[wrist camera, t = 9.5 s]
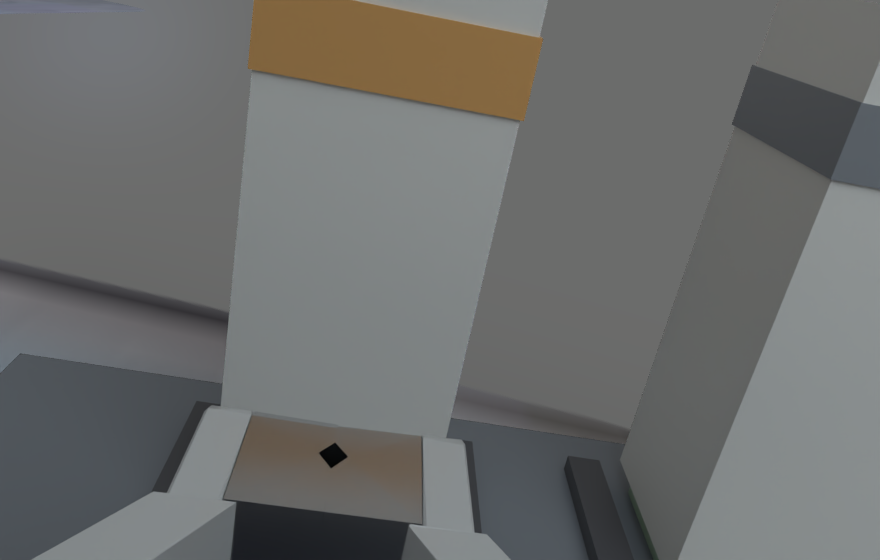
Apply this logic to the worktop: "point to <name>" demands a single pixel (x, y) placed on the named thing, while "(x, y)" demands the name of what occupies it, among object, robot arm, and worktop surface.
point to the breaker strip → (669, 383)
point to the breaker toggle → (371, 202)
